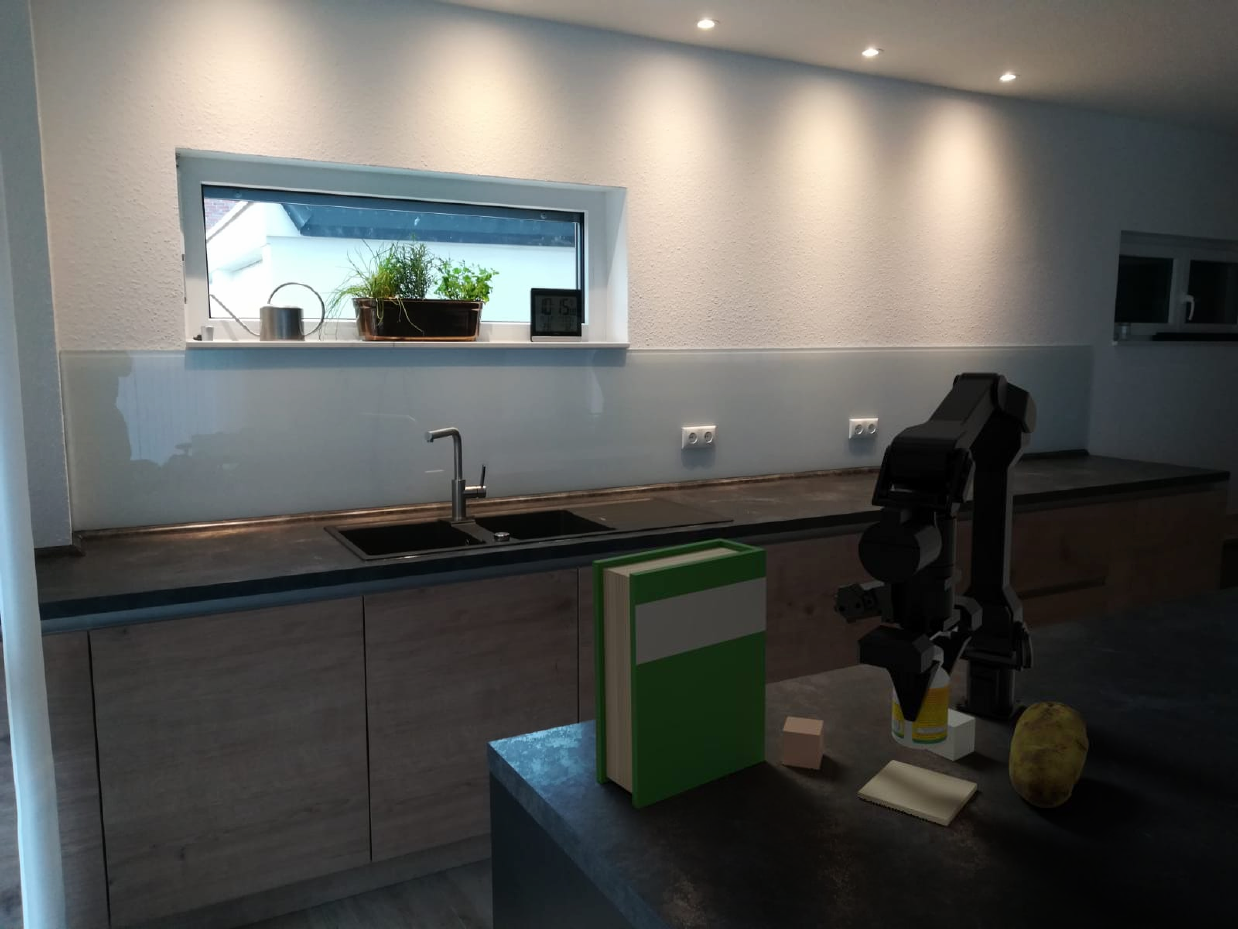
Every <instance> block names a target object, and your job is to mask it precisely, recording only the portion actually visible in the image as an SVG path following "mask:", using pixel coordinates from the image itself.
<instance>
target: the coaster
mask: <svg viewBox="0 0 1238 929" xmlns="http://www.w3.org/2000/svg"><path fill="white" fill-rule="evenodd" d="M977 790H978V783H976V782H972V781H968V780H964V779H961V778H957V777H954V776H951V775H948V774H945V773H940V772H936V771H933V770H930V769H925V768H923V767H919V766H916V765H912V764H909V763H904V762H901V761H897V760H894V759H892V760H890V761H889V763H887V764H886V765H885V766H884V767H883V768H881V770H880V771H879V772H878V773H876V775H875V776H874V777H872V778H871V779H870V780H869V781H868V782H867V783H866V784H865V785H864V786H862V788H860V789H859V790H858V792H857V798H858V797H860V798H862V799H861V800H863V799H866V800H865V801H867V802H870V801H872V802H871V803H873V802H874V803H873V804H876V803H877V805H879V804H881V805H880V806H882V805H883V807H885V806H886V807H885V808H888V807H890V808H889V809H892V808H894V809H893V810H895V809H897V810H896V811H898V810H900V811H899V812H901V811H904V812H906V813H905V814H907V813H908V815H910V814H912V815H911V816H913V815H914V816H915V817H917V816H918V817H917V818H919V819H923V818H924V819H923V820H926V819H927V820H926V821H929V822H933V823H935V822H936V824H940V825H942V826H946V827H948V826H949V824H950V823H951V822H952V820H954V819H955V817H956V815H958V813H959V812H960V811H961V810H962V809H963V807H964V806H965V805H966V803H967V802H968V801H969V800H970V799H971V797H972V796H973V795H974V793H975V792H976V791H977ZM860 798H859V799H860ZM964 804H965V805H964ZM884 805H885V806H884ZM904 812H903V813H904ZM950 821H951V822H950Z"/></svg>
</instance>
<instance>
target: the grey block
mask: <svg viewBox="0 0 1238 929" xmlns="http://www.w3.org/2000/svg"><path fill="white" fill-rule="evenodd" d="M975 732H976V717H974V716H970V715H969V714H965V713H962V712H960V711H956V710H954V709H951V708H948V727H947V741H946V743H945V744H944V745H943V746H942V747H940V748H937V749H927V750H929V751H928V752H930V751H931V752H930V753H932V752H933V753H932V754H935V753H936V754H935V755H937V754H938V756H940V757H942V756H943V758H945V759H947V760H950V761H953V762H955V761H956V760H959V759H961V758H963V757H965V756H967V755H969V754H971V753H973V752H974V751H975V734H976V733H975ZM927 750H926V751H927Z"/></svg>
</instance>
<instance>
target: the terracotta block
mask: <svg viewBox="0 0 1238 929" xmlns="http://www.w3.org/2000/svg"><path fill="white" fill-rule="evenodd" d="M824 725H825V724H824V720H820V719H813V718H812V719H811V718H805V717H794V716H787V718H786V720H785V723H784V726H783V728H782V730H781V731H782V732H781V733H782V734H781V735H782V737H781V738H782V740H781V742H782V743H781V747H782V748H781V765H782V764H784V765H783V766H789V765H790V766H789V767H799V768H804V767H805V769H811V768H813V769H812V770H820V767H821V763H822V758H823V756H824Z"/></svg>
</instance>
